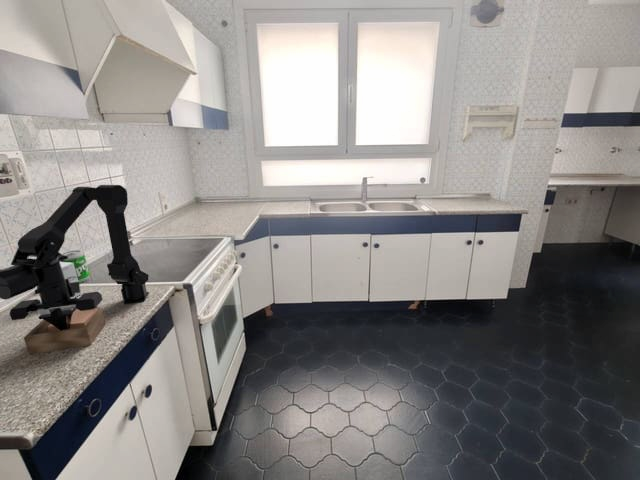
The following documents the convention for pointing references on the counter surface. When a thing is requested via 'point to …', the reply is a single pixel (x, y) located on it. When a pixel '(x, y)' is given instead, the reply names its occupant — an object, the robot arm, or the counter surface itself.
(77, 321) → the terracotta block
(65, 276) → the supplement box
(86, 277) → the soda can
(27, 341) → the walnut stall
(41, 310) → the robot arm
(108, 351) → the counter surface
